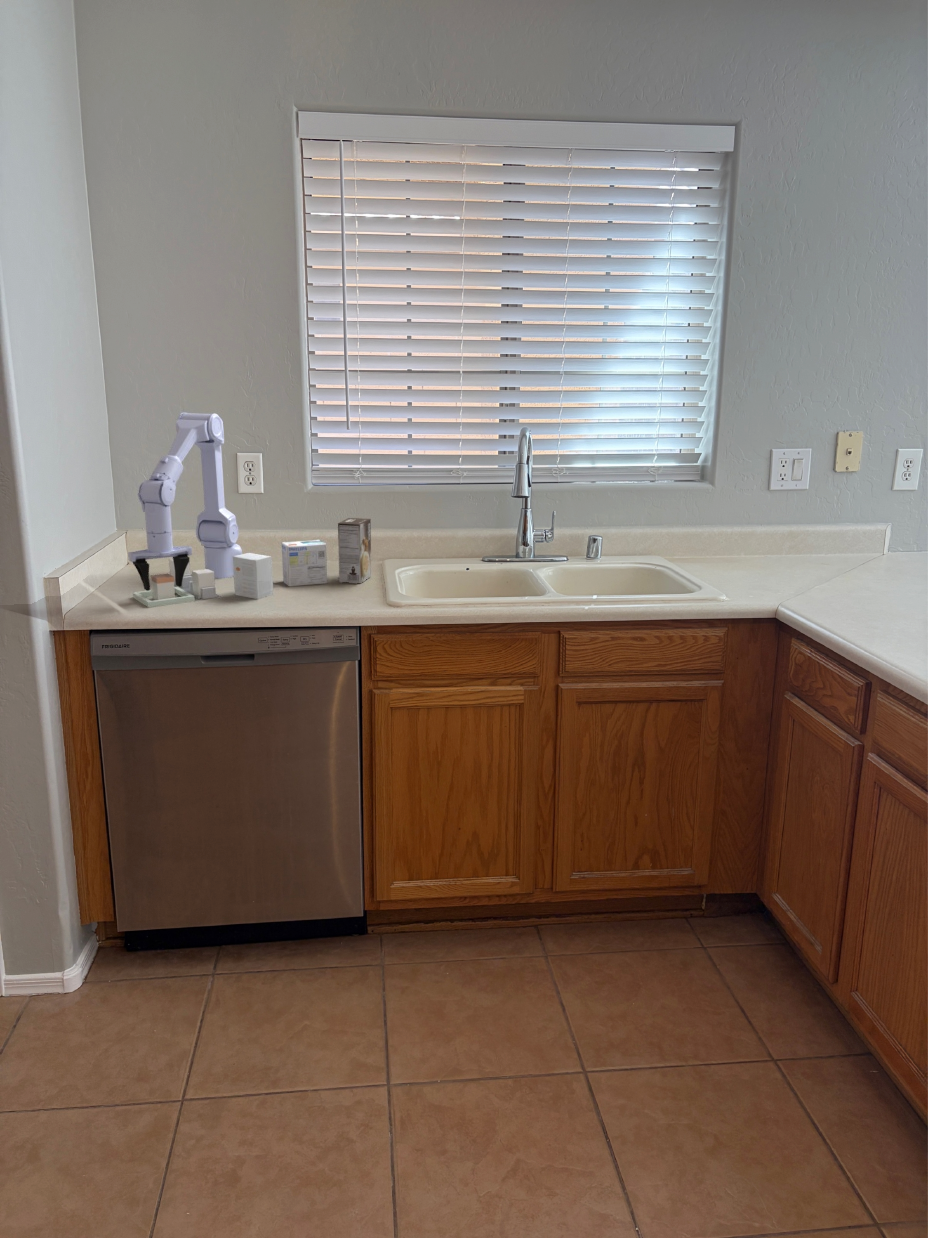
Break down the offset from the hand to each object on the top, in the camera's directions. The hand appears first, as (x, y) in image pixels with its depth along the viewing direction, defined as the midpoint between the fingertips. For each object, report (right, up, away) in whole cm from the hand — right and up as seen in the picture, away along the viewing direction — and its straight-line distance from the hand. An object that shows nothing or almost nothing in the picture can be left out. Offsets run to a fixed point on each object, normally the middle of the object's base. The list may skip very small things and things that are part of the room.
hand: (163, 587), depth 220 cm
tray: (0, -3, +1) cm, 4 cm away
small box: (+20, -2, +7) cm, 22 cm away
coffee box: (+43, +3, +28) cm, 51 cm away
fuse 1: (-1, +2, +17) cm, 18 cm away
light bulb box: (+30, +2, +24) cm, 38 cm away
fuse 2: (+8, -2, +5) cm, 10 cm away
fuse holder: (+4, -1, +11) cm, 12 cm away
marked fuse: (0, -3, +1) cm, 3 cm away
